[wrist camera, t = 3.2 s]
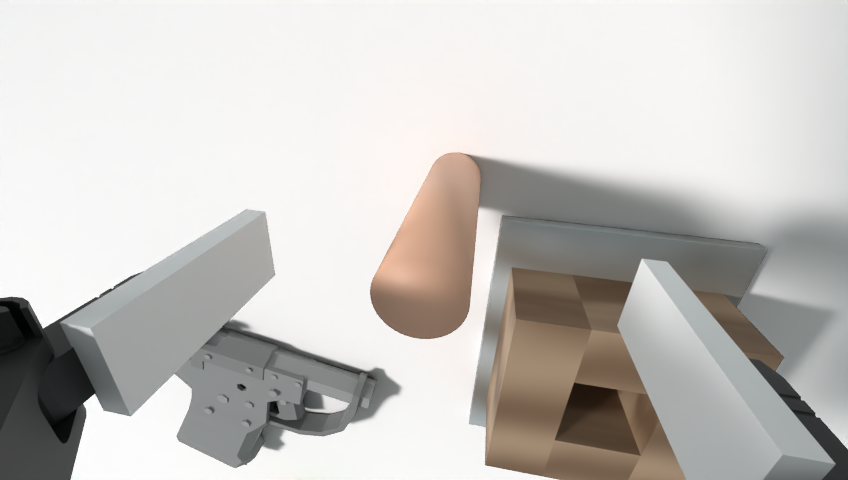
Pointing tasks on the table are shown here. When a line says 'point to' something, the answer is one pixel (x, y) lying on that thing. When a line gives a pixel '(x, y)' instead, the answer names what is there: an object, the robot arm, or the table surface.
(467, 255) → the peg
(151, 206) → the table surface
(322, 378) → the pistol
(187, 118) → the table surface
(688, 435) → the robot arm
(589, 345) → the socket
